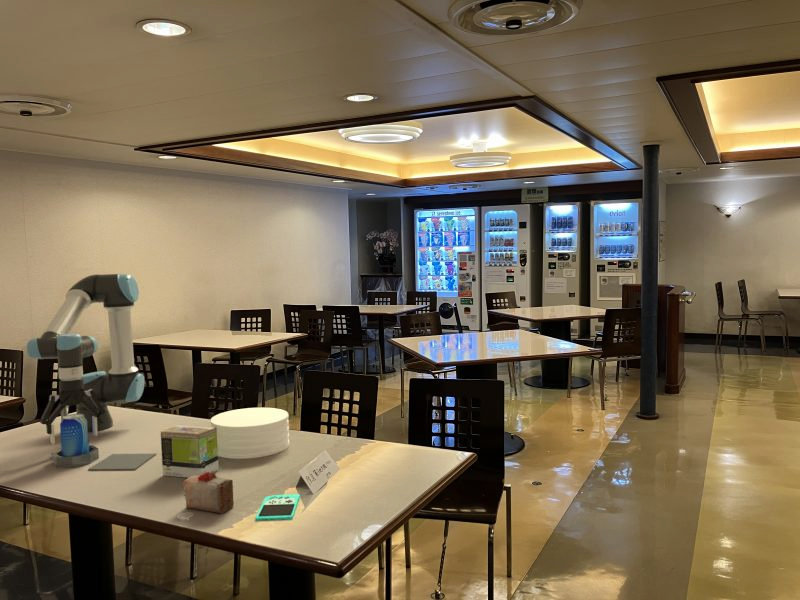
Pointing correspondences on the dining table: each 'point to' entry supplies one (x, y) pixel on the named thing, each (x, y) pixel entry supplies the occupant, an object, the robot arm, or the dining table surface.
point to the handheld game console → (278, 507)
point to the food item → (209, 493)
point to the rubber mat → (122, 462)
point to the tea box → (189, 450)
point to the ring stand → (74, 460)
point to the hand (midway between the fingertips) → (74, 438)
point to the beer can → (74, 435)
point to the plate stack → (251, 432)
